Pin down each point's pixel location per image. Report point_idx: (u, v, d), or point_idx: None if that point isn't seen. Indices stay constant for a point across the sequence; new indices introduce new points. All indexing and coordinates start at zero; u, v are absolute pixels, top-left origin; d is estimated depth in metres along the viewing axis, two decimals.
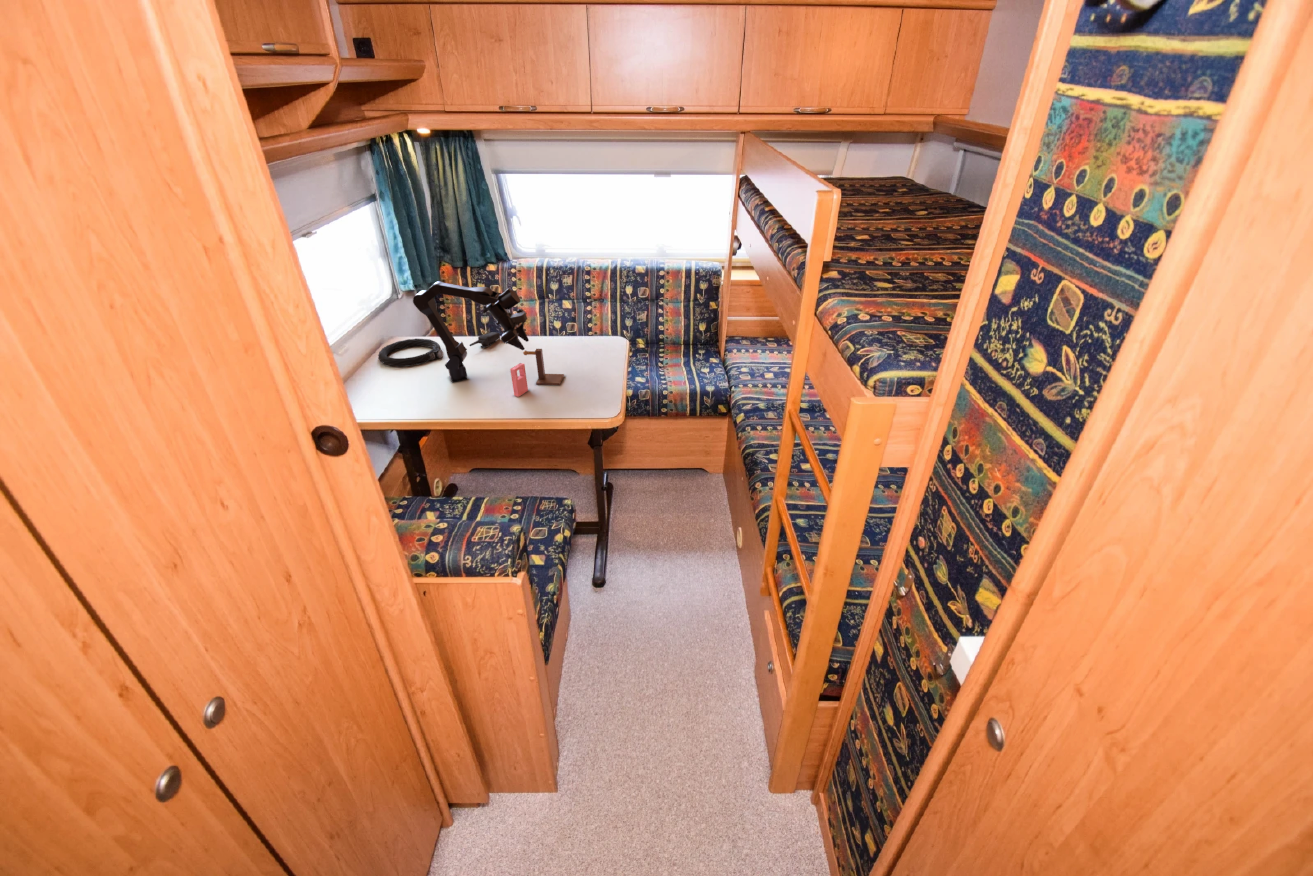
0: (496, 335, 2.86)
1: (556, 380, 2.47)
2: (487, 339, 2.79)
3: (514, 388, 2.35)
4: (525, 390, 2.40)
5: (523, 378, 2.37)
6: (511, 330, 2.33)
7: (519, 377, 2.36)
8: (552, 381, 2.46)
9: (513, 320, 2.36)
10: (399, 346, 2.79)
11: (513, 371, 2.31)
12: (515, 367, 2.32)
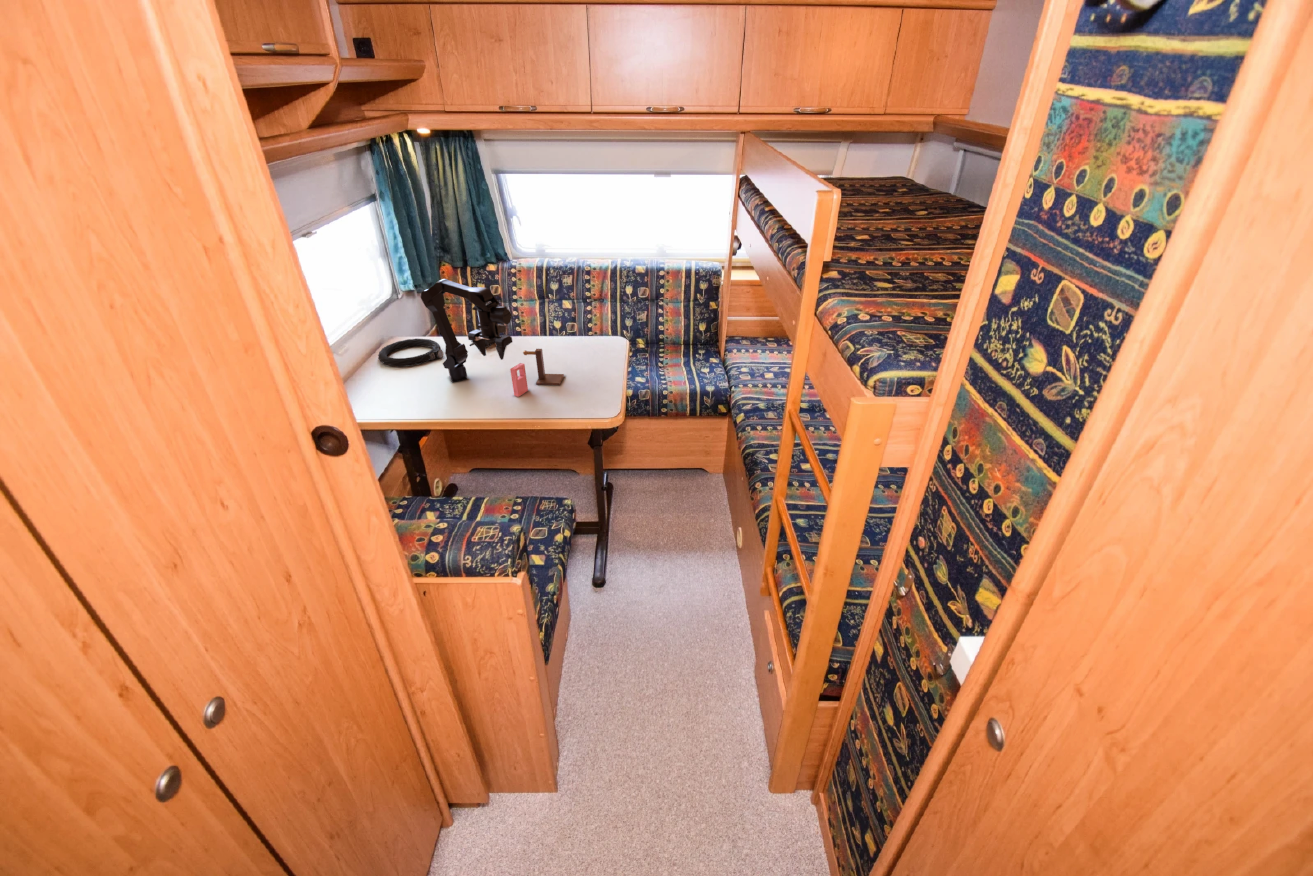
0: None
1: (556, 380, 2.47)
2: None
3: (514, 388, 2.35)
4: (525, 390, 2.40)
5: (523, 378, 2.37)
6: None
7: (519, 377, 2.36)
8: (552, 381, 2.46)
9: (499, 328, 2.35)
10: (399, 346, 2.79)
11: (513, 371, 2.31)
12: (515, 367, 2.32)
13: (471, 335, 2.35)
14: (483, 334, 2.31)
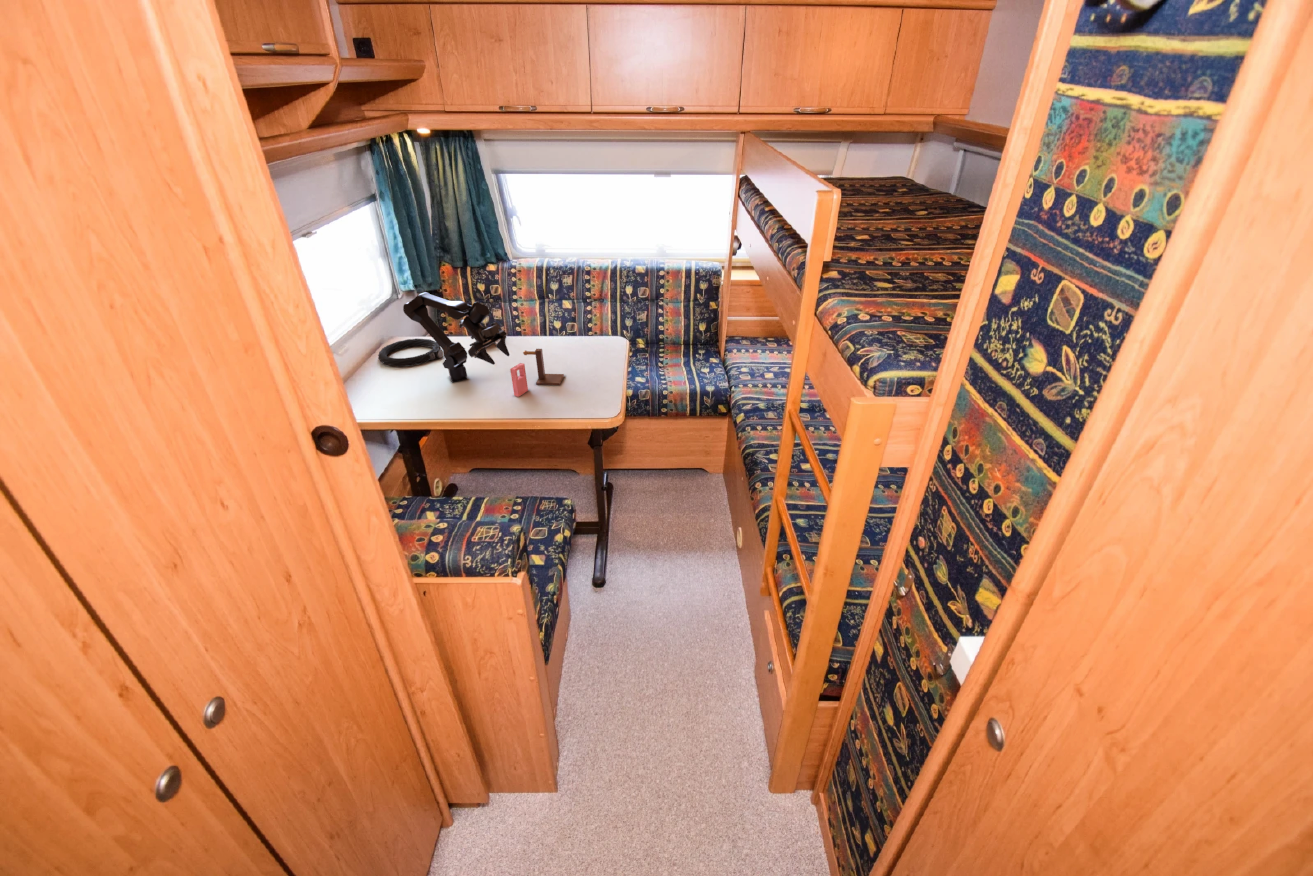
0: None
1: (556, 380, 2.47)
2: None
3: (514, 388, 2.35)
4: (525, 390, 2.40)
5: (523, 378, 2.37)
6: (475, 344, 2.27)
7: (519, 377, 2.36)
8: (552, 381, 2.46)
9: (482, 334, 2.30)
10: (399, 346, 2.79)
11: (513, 371, 2.31)
12: (515, 367, 2.32)
13: None
14: None
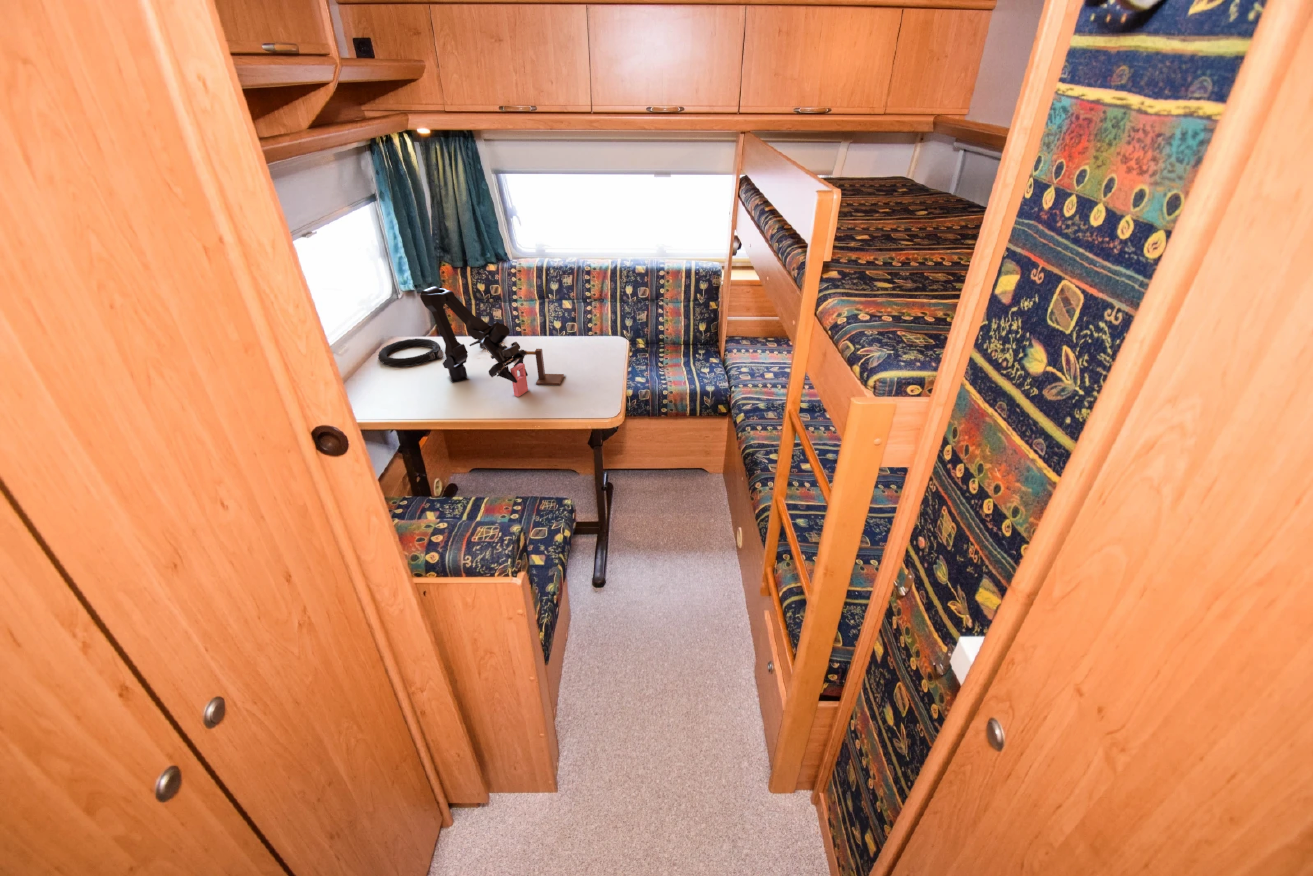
0: None
1: (556, 380, 2.47)
2: None
3: (514, 388, 2.35)
4: (525, 390, 2.40)
5: (523, 378, 2.37)
6: (496, 364, 2.27)
7: (519, 377, 2.36)
8: (552, 381, 2.46)
9: (503, 354, 2.30)
10: (399, 346, 2.79)
11: (513, 371, 2.31)
12: (515, 367, 2.32)
13: None
14: None
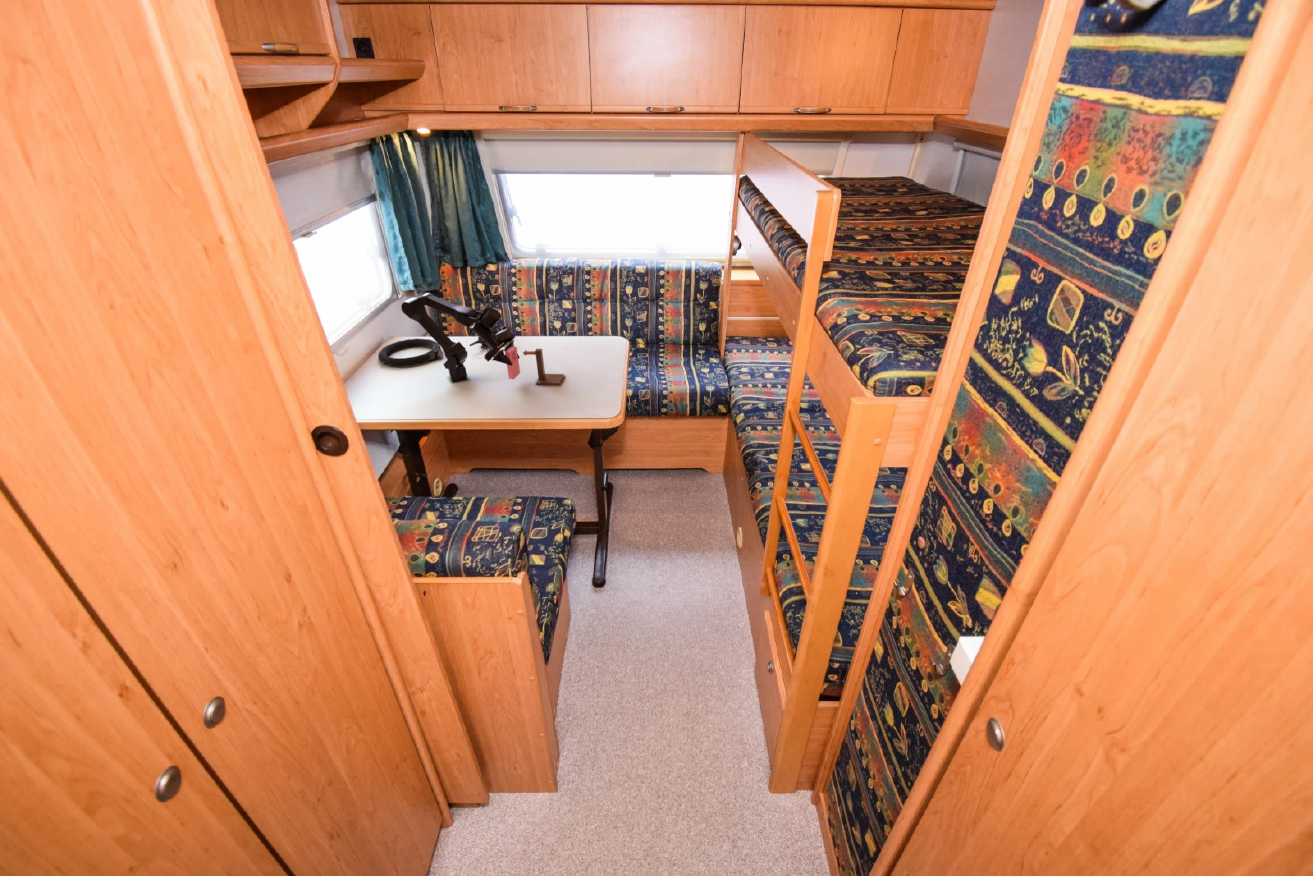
0: None
1: (556, 380, 2.47)
2: None
3: (509, 371, 2.41)
4: (518, 373, 2.46)
5: (516, 361, 2.43)
6: (492, 348, 2.31)
7: (512, 360, 2.41)
8: (552, 381, 2.46)
9: (496, 338, 2.34)
10: (399, 346, 2.79)
11: (508, 354, 2.36)
12: (509, 350, 2.38)
13: None
14: None
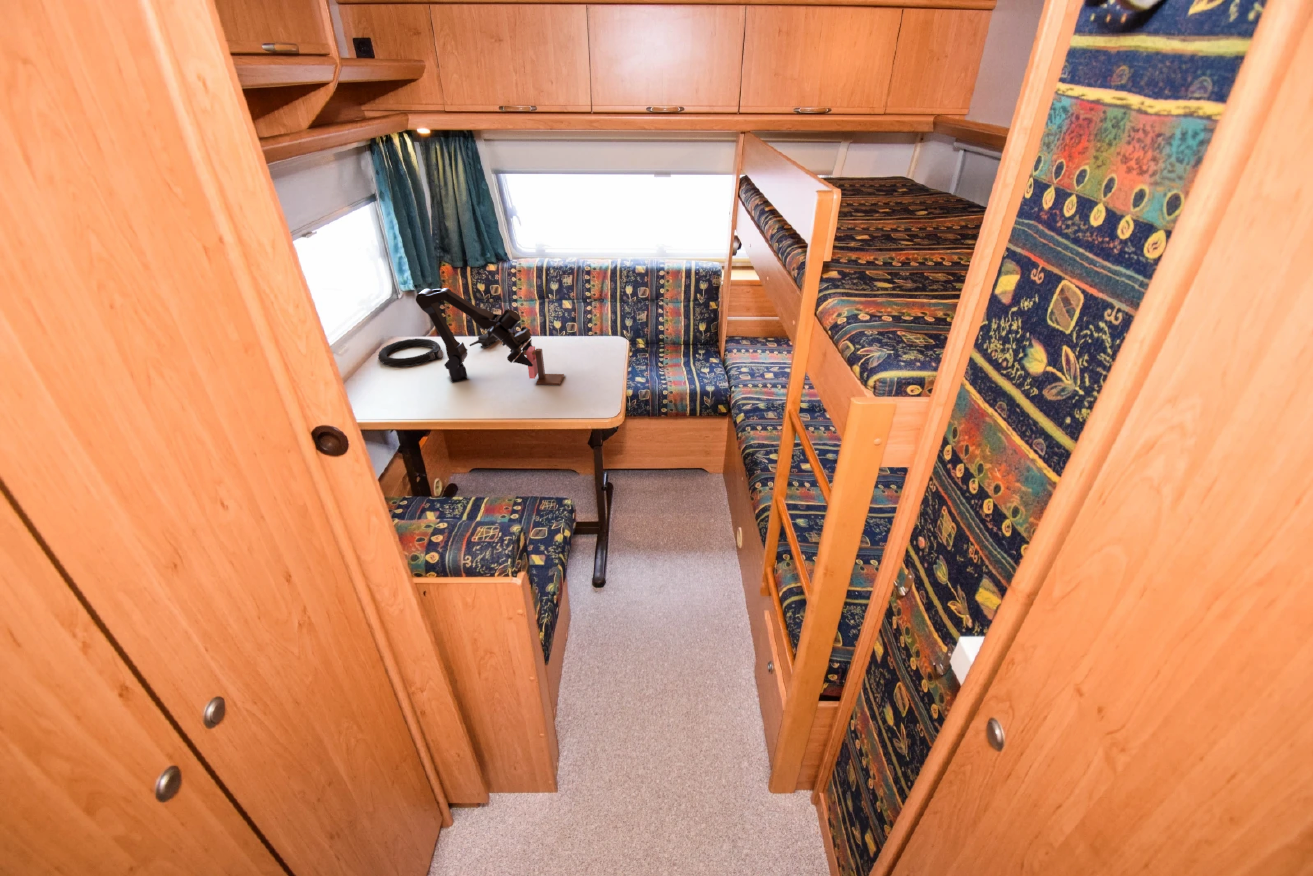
0: None
1: (556, 380, 2.47)
2: (487, 339, 2.79)
3: (530, 371, 2.44)
4: (537, 372, 2.50)
5: (535, 360, 2.47)
6: (515, 349, 2.35)
7: None
8: (552, 381, 2.46)
9: (517, 339, 2.38)
10: (399, 346, 2.79)
11: (529, 354, 2.40)
12: (529, 350, 2.41)
13: None
14: None
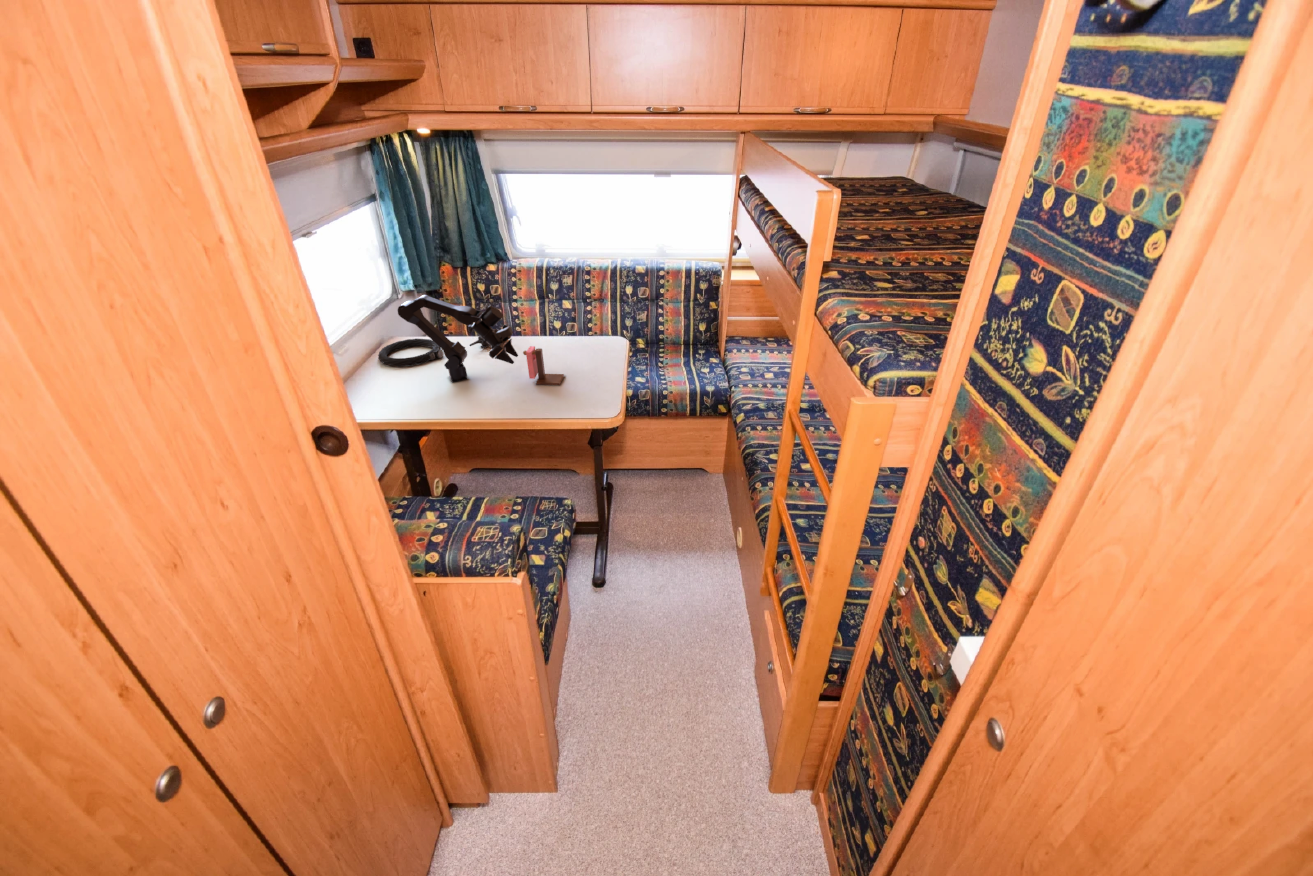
0: None
1: (556, 380, 2.47)
2: None
3: (530, 371, 2.44)
4: (537, 372, 2.50)
5: (535, 360, 2.47)
6: (498, 344, 2.35)
7: None
8: (552, 381, 2.46)
9: (499, 335, 2.38)
10: (399, 346, 2.79)
11: (529, 354, 2.40)
12: (529, 350, 2.41)
13: None
14: None
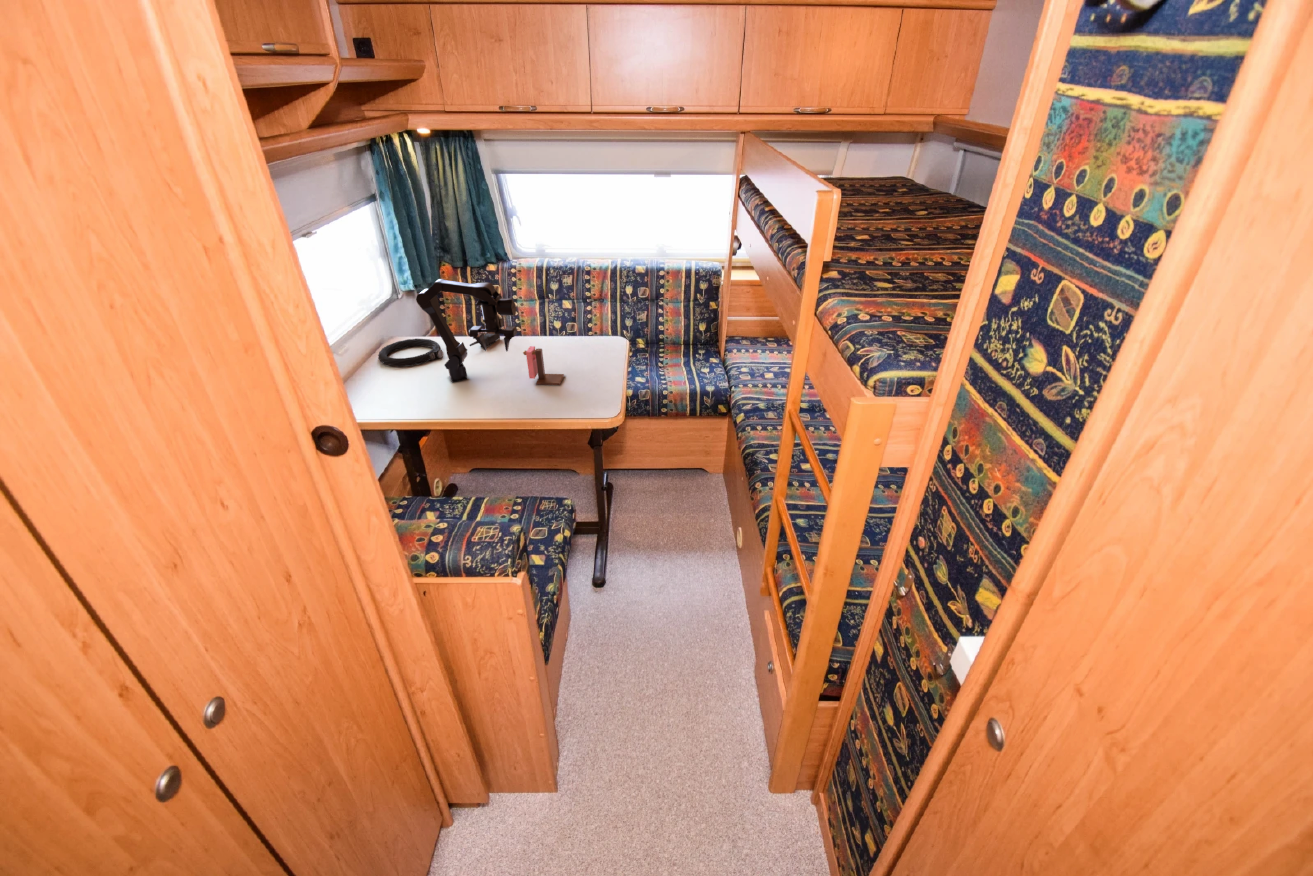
0: (496, 335, 2.86)
1: (556, 380, 2.47)
2: (487, 339, 2.79)
3: (530, 371, 2.44)
4: (537, 372, 2.50)
5: (535, 360, 2.47)
6: None
7: None
8: (552, 381, 2.46)
9: (500, 321, 2.41)
10: (399, 346, 2.79)
11: (529, 354, 2.40)
12: (529, 350, 2.41)
13: (474, 331, 2.38)
14: (489, 328, 2.36)
